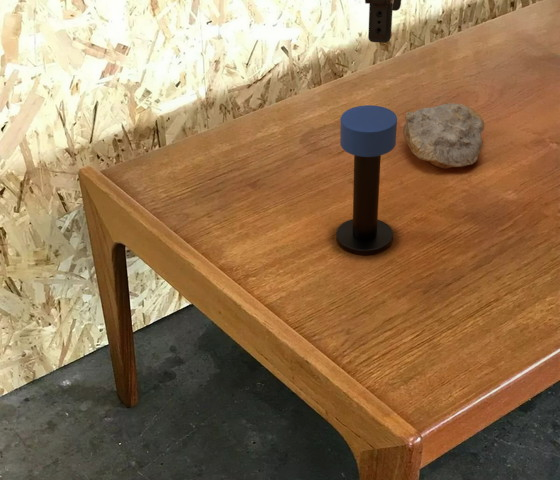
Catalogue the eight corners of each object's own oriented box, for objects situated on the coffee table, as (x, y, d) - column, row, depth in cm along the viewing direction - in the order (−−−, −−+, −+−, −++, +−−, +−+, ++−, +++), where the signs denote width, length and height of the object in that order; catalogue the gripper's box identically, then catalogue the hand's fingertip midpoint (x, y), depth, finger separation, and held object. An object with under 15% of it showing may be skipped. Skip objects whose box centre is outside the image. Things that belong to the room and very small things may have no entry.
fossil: (483, 174, 107) (434, 130, 102) (436, 199, 113) (388, 158, 108) (493, 111, 112) (446, 66, 108) (447, 137, 119) (401, 96, 114)
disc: (396, 130, 91) (397, 105, 89) (395, 157, 87) (396, 132, 85) (341, 129, 92) (342, 104, 90) (338, 156, 88) (338, 131, 85)
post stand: (393, 223, 101) (399, 128, 91) (392, 256, 96) (398, 159, 86) (338, 221, 101) (338, 127, 92) (334, 254, 96) (334, 158, 87)
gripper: (428, -139, 66) (414, 55, 77) (442, -177, 76) (427, 0, 87) (339, -139, 67) (337, 51, 79) (364, -176, 77) (359, -2, 88)
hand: (385, 24), depth 83 cm, fingers open, 8 cm apart
